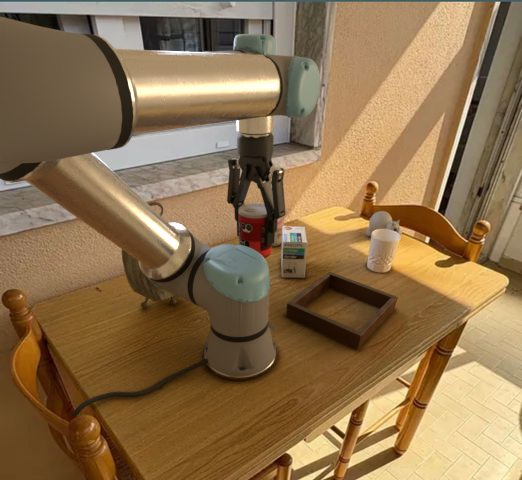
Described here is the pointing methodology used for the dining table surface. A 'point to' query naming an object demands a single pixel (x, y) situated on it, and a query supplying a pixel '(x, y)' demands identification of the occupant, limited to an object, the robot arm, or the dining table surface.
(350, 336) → the crate
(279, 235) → the cupcake
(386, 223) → the grey animal figurine
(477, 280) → the dining table surface
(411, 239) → the dining table surface
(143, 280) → the tabletop clock
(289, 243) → the light bulb box
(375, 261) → the white cup
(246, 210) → the canned food
